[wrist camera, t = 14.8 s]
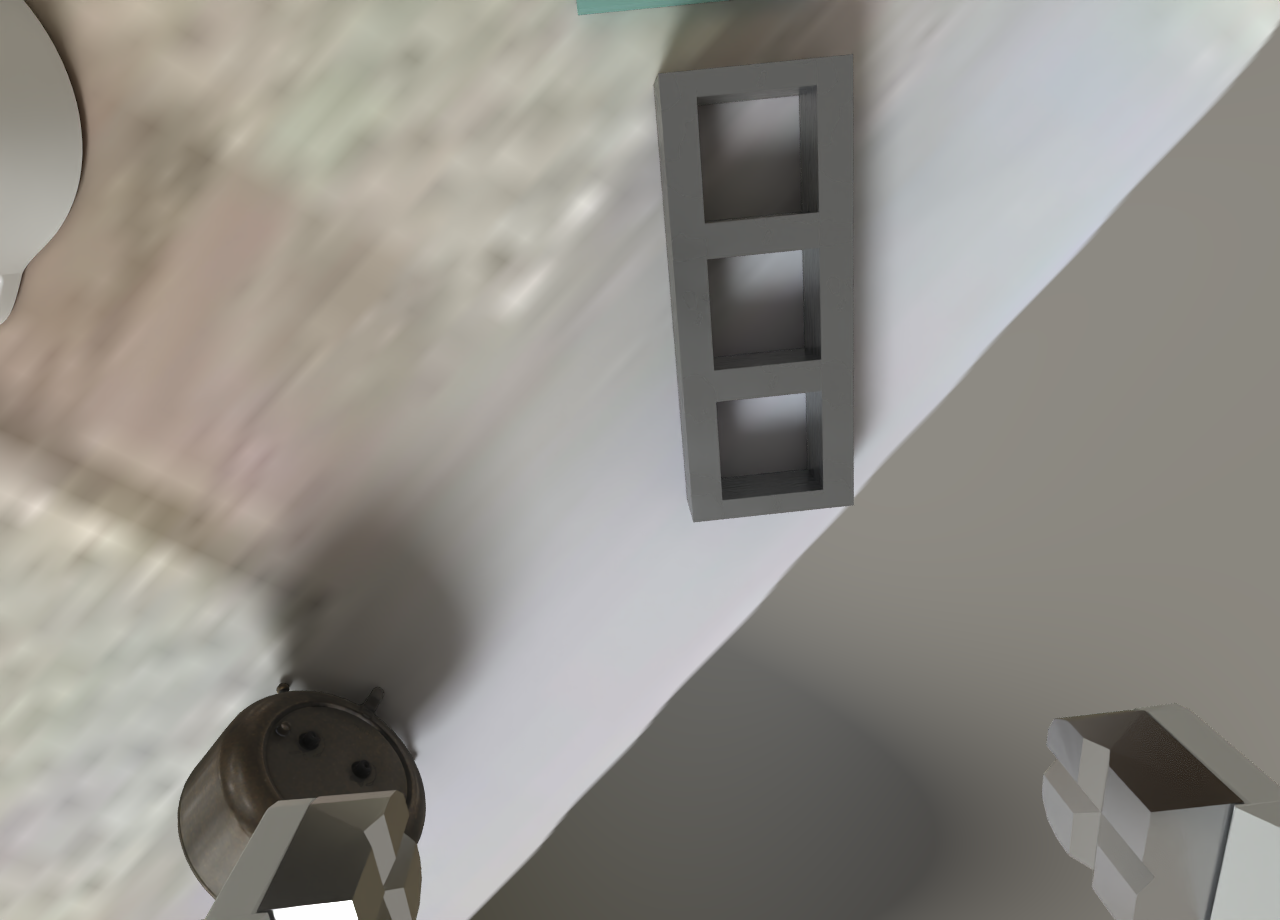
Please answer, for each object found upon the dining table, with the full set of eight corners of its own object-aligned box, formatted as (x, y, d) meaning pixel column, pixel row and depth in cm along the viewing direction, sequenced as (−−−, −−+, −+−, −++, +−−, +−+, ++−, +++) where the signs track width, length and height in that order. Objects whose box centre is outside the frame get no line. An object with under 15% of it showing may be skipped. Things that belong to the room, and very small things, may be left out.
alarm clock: (248, 692, 42) (45, 971, 27) (300, 627, 41) (119, 880, 26) (410, 787, 45) (309, 1090, 29) (463, 729, 44) (387, 1012, 28)
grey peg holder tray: (687, 499, 39) (693, 522, 37) (653, 84, 33) (658, 73, 30) (835, 483, 40) (853, 505, 37) (831, 67, 33) (853, 54, 30)
